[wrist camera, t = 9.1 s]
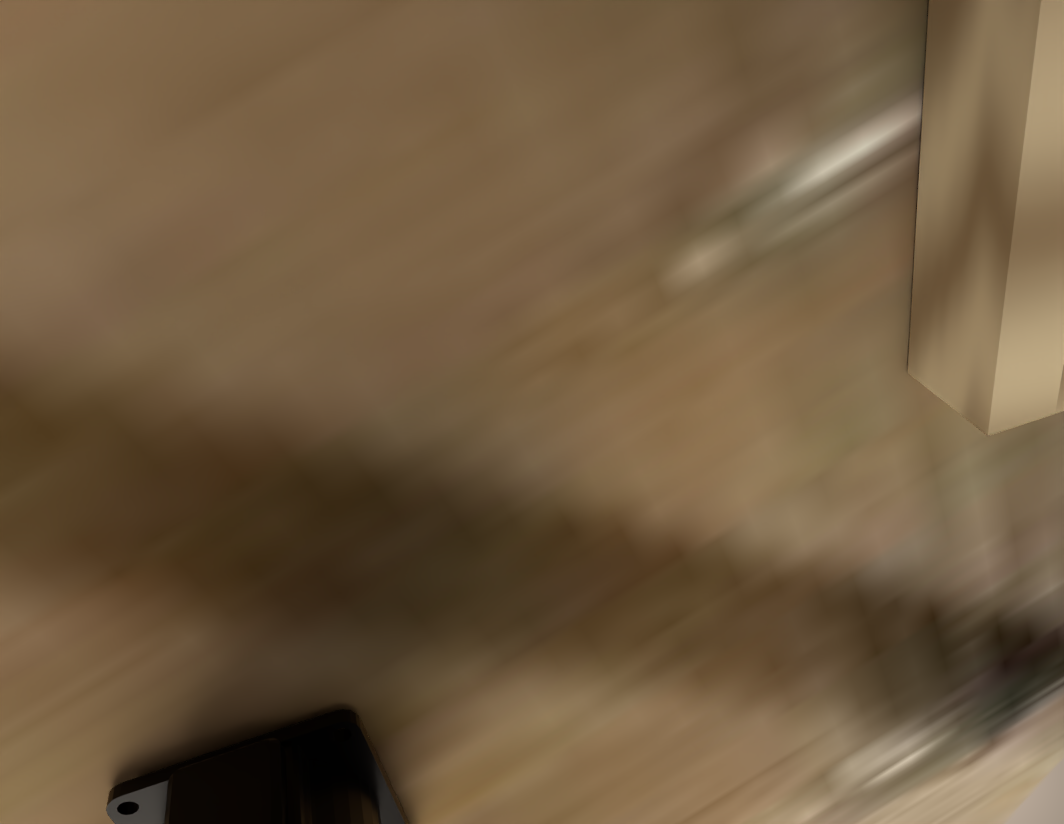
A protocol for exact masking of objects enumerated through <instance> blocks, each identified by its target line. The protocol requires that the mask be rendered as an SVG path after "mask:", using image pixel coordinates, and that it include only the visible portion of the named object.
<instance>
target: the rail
mask: <svg viewBox="0 0 1064 824" xmlns="http://www.w3.org/2000/svg"><path fill="white" fill-rule="evenodd" d="M908 373H909V374H910V375H911V376H912V377H914V378H915V379H916V380H917V381H919V382H920V383H921V384H922V385H924V386H925V387H926V388H928V389H929V390H930V391H931V392H933V393H934V394H935V395H936V396H938V397H939V398H940V399H941V400H943V401H944V402H945V403H947V404H948V405H949V406H950V407H952V408H953V409H954V410H955V411H957V412H958V413H959V414H960V415H962V416H963V417H964V418H966V419H967V420H968V421H969V422H971V423H972V424H973V425H974V426H976V427H977V428H978V429H979V430H981V431H982V432H983V433H984V434H986V435H987V436H990V435H993V434H996V433H999V432H1002V431H1005V430H1008V429H1011V428H1014V427H1017V426H1020V425H1023V424H1026V423H1029V422H1032V421H1035V420H1038V419H1041V418H1044V417H1047V416H1050V415H1053V414H1056V413H1059V412H1062V411H1064V0H929V9H928V26H927V44H926V61H925V78H924V96H923V113H922V130H921V148H920V165H919V183H918V200H917V217H916V235H915V252H914V270H913V287H912V304H911V322H910V339H909V357H908Z"/></svg>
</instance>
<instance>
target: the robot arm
mask: <svg viewBox="0 0 1064 824" xmlns="http://www.w3.org/2000/svg"><path fill="white" fill-rule="evenodd" d="M342 728H345V729H342ZM338 729H341V730H338ZM106 811H107V814H108V816H109V817H110V818H111V819H112V821H113V822H114V823H115V824H409V822H408V820H407V818H406V816H405V814H404V812H403V810H402V807H401V805H400V803H399V801H398V799H397V797H396V795H395V792H394V790H393V788H392V786H391V784H390V782H389V780H388V777H387V775H386V773H385V771H384V769H383V767H382V765H381V763H380V760H379V758H378V756H377V754H376V752H375V750H374V748H373V745H372V743H371V741H370V739H369V737H368V735H367V733H366V730H365V728H364V726H363V724H362V722H361V720H360V718H359V716H358V715H357V714H356V713H355V712H353V711H351V710H337V711H333V712H330V713H327V714H324V715H321V716H318V717H315V718H312V719H310V720H307V721H304V722H301V723H298V724H295V725H292V726H289V727H286V728H283V729H280V730H277V731H274V732H271V733H268V734H265V735H262V736H259V737H256V738H253V739H250V740H247V741H244V742H241V743H239V744H236V745H233V746H230V747H227V748H224V749H221V750H218V751H215V752H212V753H209V754H206V755H203V756H200V757H197V758H194V759H191V760H188V761H185V762H182V763H179V764H176V765H173V766H170V767H168V768H165V769H162V770H159V771H156V772H153V773H150V774H147V775H144V776H141V777H138V778H135V779H132V780H129V781H126V782H123V783H121V784H119V785H117V786H115V787H113V788H112V790H111V791H110V792H109V796H108V802H107V808H106Z"/></svg>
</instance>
